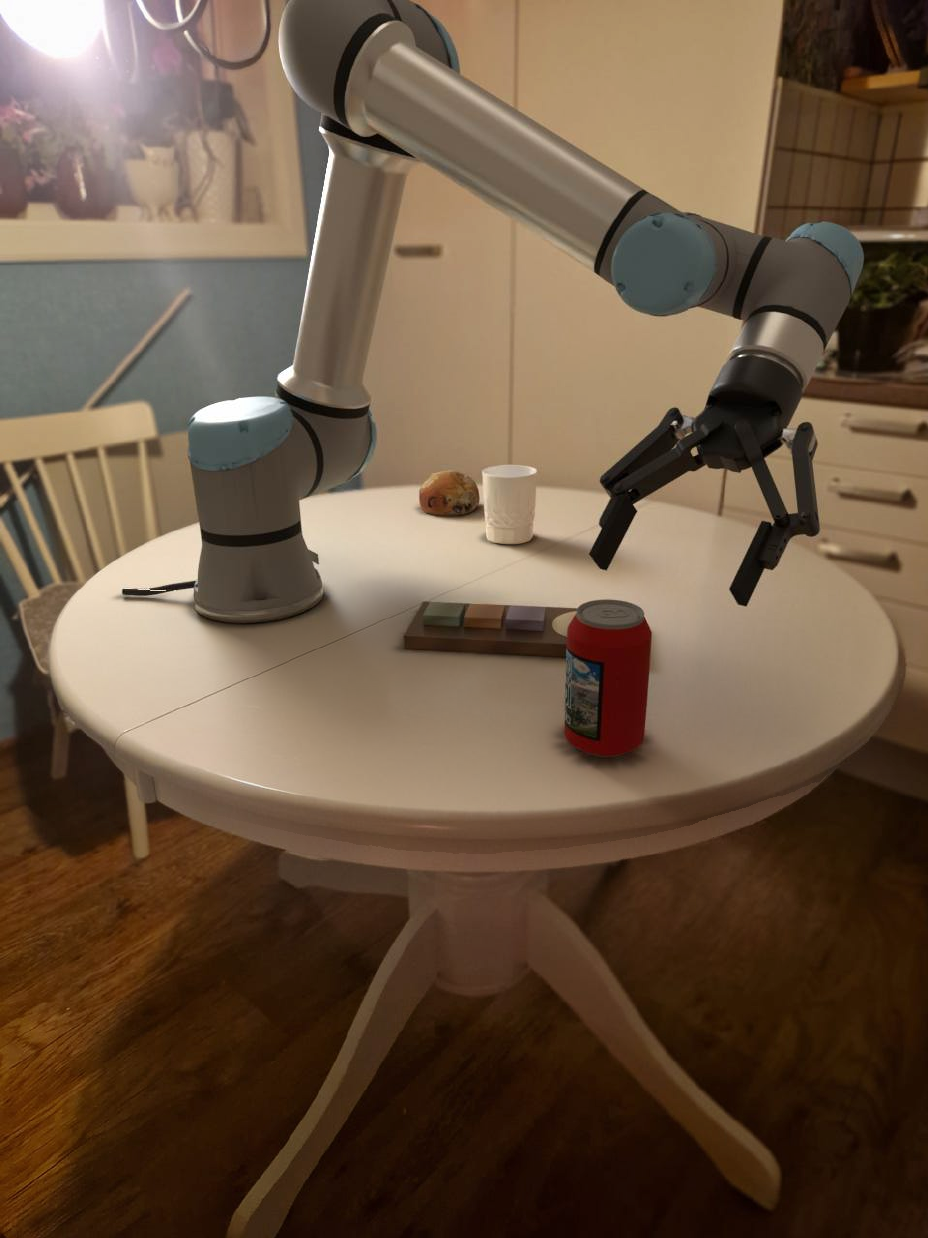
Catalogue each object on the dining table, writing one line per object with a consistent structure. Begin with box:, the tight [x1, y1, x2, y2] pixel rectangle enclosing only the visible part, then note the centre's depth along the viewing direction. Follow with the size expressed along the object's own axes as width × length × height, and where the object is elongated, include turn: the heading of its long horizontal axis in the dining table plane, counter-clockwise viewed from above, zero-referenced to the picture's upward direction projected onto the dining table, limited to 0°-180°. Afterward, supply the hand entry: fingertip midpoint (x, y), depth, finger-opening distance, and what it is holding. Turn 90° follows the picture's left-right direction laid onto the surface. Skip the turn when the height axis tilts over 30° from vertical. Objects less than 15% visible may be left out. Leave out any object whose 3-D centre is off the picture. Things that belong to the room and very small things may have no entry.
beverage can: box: [563, 598, 653, 758], centre depth 71 cm, size 7×7×12 cm
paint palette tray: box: [403, 600, 578, 658], centre depth 94 cm, size 24×10×3 cm, turn 81°
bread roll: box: [418, 469, 481, 517], centre depth 142 cm, size 10×10×8 cm
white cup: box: [481, 464, 538, 545], centre depth 125 cm, size 8×8×10 cm
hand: (663, 579), depth 74 cm, fingers open, 13 cm apart
